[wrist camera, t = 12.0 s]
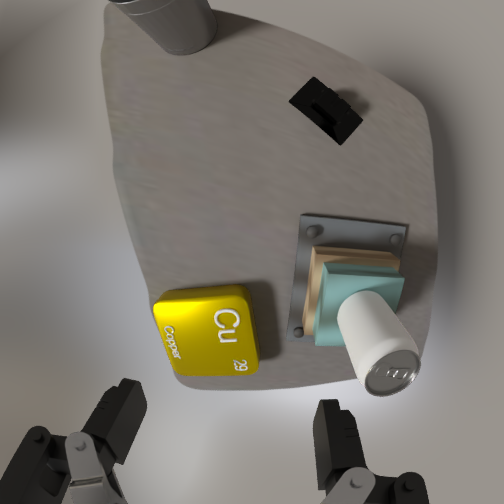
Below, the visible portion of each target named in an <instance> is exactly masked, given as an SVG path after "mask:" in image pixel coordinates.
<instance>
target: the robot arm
mask: <svg viewBox="0 0 504 504" xmlns="http://www.w3.org/2000/svg"><path fill="white" fill-rule="evenodd" d="M109 1H110V2H111V3H112V4H114V5H115V6H116V7H117V8H118V9H120V10H121V11H122V12H123V13H124V14H126V15H127V16H128V17H129V18H130V19H131V20H132V21H134V22H135V23H136V24H137V25H138V26H139V27H140V28H141V29H142V30H144V31H145V32H146V33H147V34H148V35H149V36H150V37H151V38H152V39H153V40H154V41H155V42H156V43H157V44H159V45H160V46H161V47H162V48H163V49H164V50H165V51H166V52H168V53H170V54H173V55H188V54H192V53H195V52H197V51H199V50H201V49H203V48H204V47H205V46H207V45H208V44H209V43H210V42H211V41H212V39H213V38H214V36H215V34H216V31H217V21H216V19H215V17H214V15H213V12H212V10H211V8H210V6H209V3H208V1H207V0H109ZM146 410H147V401H146V398H145V395H144V392H143V389H142V386H141V383H140V382H139V381H136V380H131V379H127V378H124V379H122V381H121V382H120V384H119V386H118V387H116V386H113V387H111V388H110V389H108V390H107V391H106V392H105V393H104V395H103V396H102V398H101V399H100V401H99V403H98V404H97V407H96V408H95V409H94V411H93V413H92V414H91V416H90V418H89V419H88V421H87V422H86V424H85V426H84V428H83V429H82V430H81V431H80V432H74V433H72V434H70V435H69V436H68V437H67V436H58V435H52V434H50V432H49V431H48V430H47V429H46V428H45V427H42V426H35V427H32V428H31V429H30V430H29V431H28V432H27V434H26V435H25V437H24V439H23V440H22V442H21V444H20V446H19V448H18V449H17V451H16V453H15V454H14V456H13V458H12V460H11V461H10V463H9V465H8V467H7V469H6V471H5V472H4V474H3V477H2V478H1V480H0V504H61V503H62V500H63V498H64V495H65V493H66V490H67V488H68V485H69V489H70V493H71V496H72V500H73V503H74V504H128V503H127V501H126V499H125V497H124V495H123V492H122V490H121V487H120V485H119V482H118V480H117V477H116V474H115V472H114V469H113V466H114V464H115V462H116V463H119V464H121V465H123V464H124V462H125V459H126V457H127V455H128V452H129V450H130V448H131V445H132V443H133V441H134V439H135V436H136V434H137V432H138V429H139V427H140V425H141V423H142V421H143V418H144V416H145V413H146ZM313 437H314V447H315V457H316V468H317V480H318V490H326V498H325V499H324V500H323V501H322V502H321V504H429V499H428V495H427V490H426V486H425V482H424V479H423V478H422V476H421V475H419V474H417V473H415V472H406V473H403V474H402V475H400V476H399V477H398V478H397V477H384V476H378V475H375V474H374V473H372V472H371V471H370V470H369V469H368V468H367V466H366V463H365V458H364V454H363V450H362V445H361V441H360V437H359V433H358V429H357V424H356V420H355V417H354V416H353V415H352V414H351V412H350V411H349V410H340V406H339V402H338V400H337V399H328V400H320V401H319V405H318V408H317V411H316V415H315V417H314V421H313ZM71 478H72V483H70V481H71ZM69 483H70V484H69Z"/></svg>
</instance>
